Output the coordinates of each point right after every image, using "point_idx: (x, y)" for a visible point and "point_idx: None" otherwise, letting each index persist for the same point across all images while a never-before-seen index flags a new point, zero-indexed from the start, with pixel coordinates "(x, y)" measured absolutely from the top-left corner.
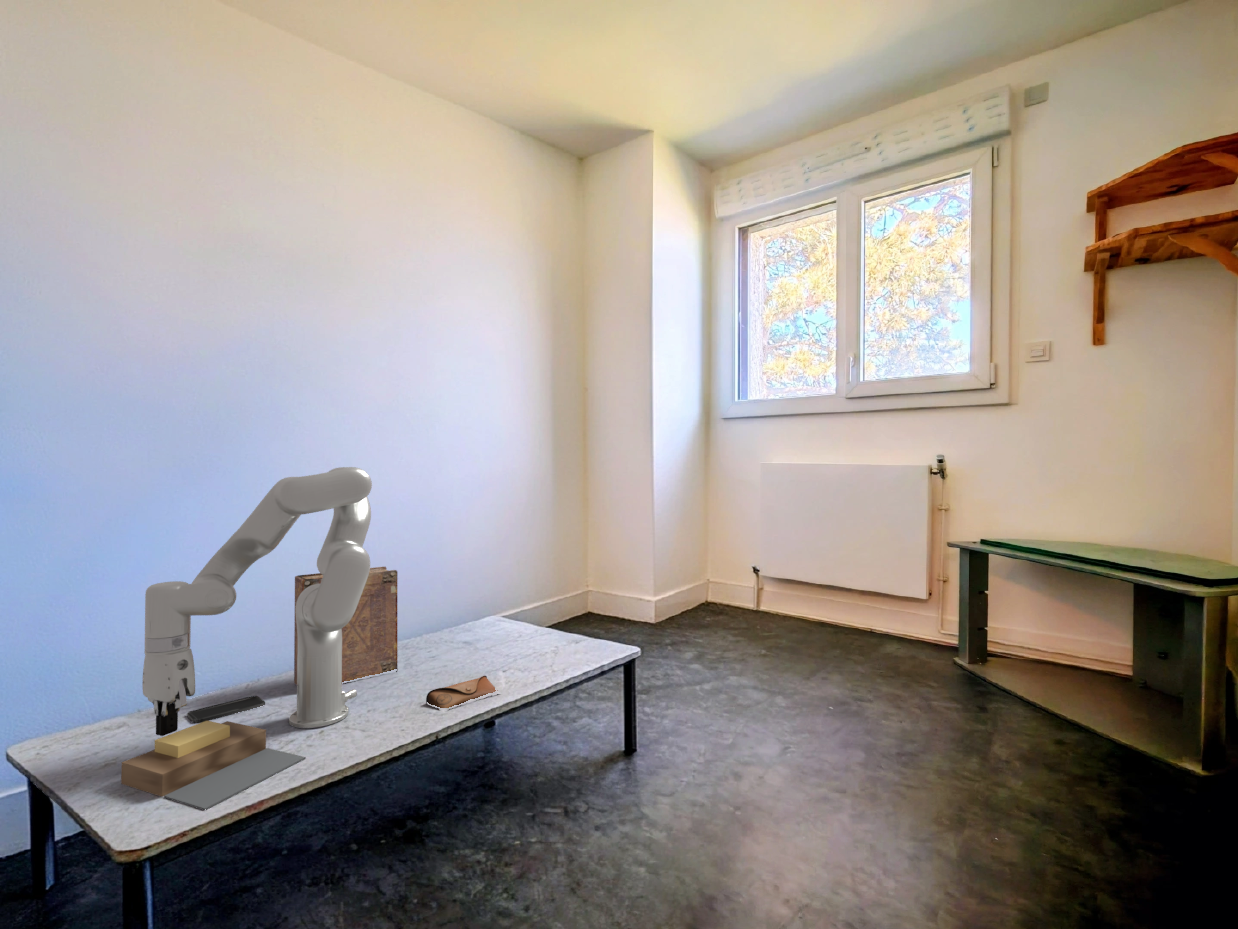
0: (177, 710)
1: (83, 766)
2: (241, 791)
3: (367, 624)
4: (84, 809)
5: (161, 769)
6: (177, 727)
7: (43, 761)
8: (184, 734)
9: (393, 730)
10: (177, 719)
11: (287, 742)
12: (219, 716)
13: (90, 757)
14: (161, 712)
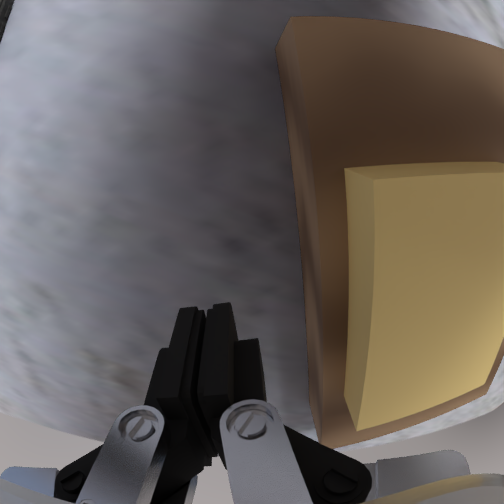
0: (291, 430)
1: (95, 403)
2: None
3: None
4: (353, 445)
5: (469, 395)
6: (229, 308)
7: (19, 407)
8: (432, 351)
9: None
10: (228, 344)
11: (484, 10)
12: (8, 8)
13: (45, 374)
14: (199, 466)
